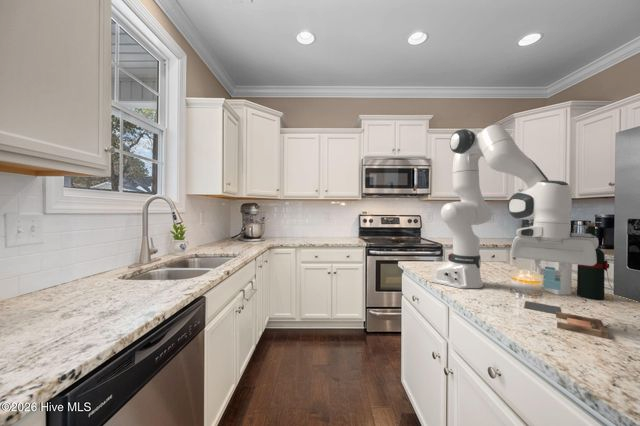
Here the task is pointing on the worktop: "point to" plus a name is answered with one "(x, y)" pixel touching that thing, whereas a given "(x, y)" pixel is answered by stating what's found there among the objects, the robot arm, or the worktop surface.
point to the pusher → (551, 279)
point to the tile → (579, 322)
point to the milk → (562, 278)
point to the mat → (542, 307)
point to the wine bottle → (592, 274)
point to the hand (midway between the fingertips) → (549, 275)
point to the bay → (580, 329)
